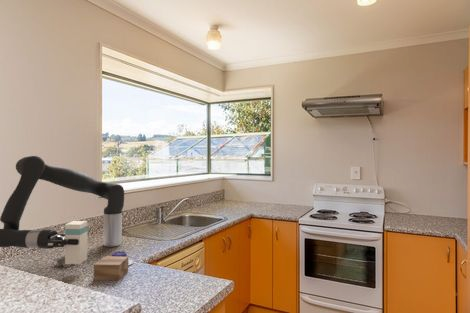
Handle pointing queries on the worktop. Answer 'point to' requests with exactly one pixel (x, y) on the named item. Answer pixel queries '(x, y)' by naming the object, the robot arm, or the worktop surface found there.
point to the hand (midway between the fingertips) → (82, 239)
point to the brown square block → (110, 268)
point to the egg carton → (62, 262)
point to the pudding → (122, 254)
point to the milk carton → (78, 252)
